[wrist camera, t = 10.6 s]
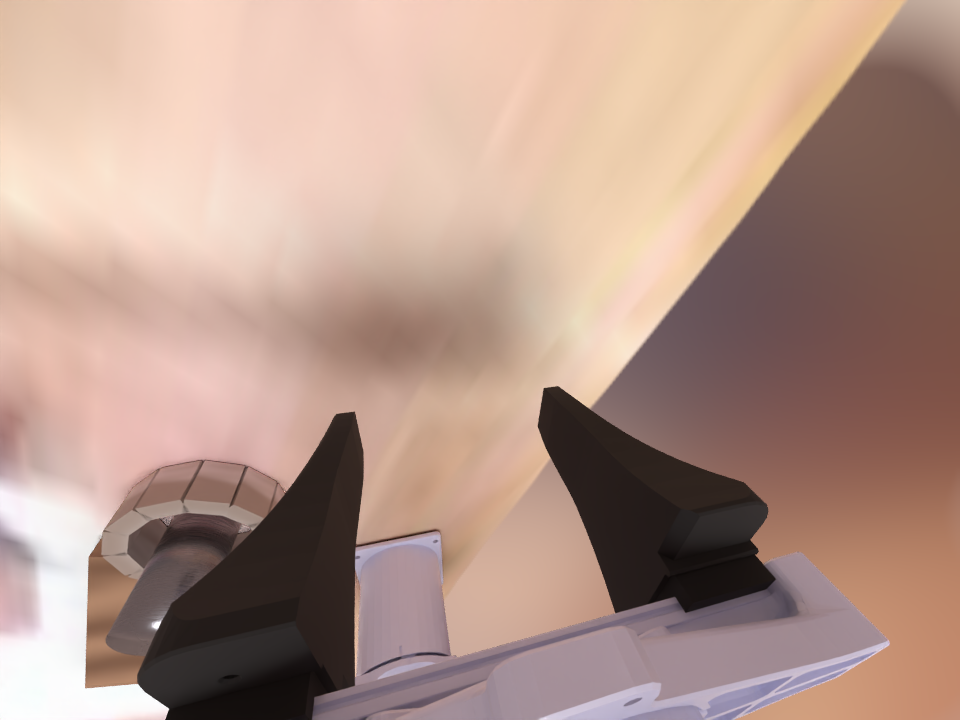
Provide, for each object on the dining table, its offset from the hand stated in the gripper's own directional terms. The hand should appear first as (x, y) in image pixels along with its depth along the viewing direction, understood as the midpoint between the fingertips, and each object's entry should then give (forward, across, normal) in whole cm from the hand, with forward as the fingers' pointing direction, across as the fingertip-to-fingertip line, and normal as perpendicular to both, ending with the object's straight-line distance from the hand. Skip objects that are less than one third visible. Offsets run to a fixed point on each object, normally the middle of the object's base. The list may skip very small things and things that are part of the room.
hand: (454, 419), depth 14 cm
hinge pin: (+9, +16, +14) cm, 23 cm away
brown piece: (+9, +20, +23) cm, 32 cm away
